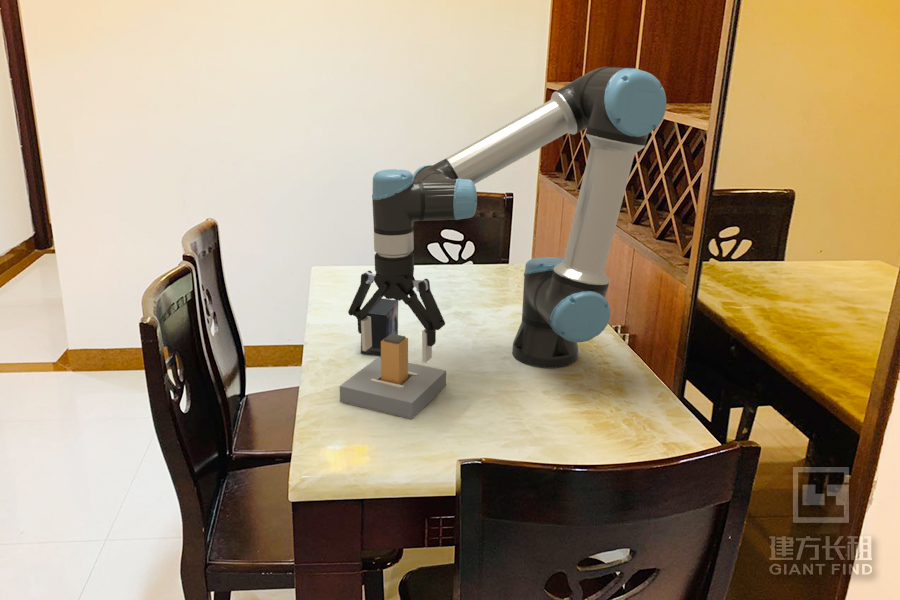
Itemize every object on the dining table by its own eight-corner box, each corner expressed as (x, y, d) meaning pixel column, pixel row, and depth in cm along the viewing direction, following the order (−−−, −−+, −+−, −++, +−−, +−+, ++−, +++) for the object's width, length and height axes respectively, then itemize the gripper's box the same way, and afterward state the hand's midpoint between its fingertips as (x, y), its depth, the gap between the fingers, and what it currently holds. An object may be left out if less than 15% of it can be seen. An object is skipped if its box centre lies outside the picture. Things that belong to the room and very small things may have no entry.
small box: (387, 357, 165) (387, 314, 162) (360, 354, 167) (359, 311, 163) (399, 340, 175) (399, 299, 172) (373, 337, 176) (373, 296, 173)
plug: (407, 391, 150) (408, 336, 145) (398, 399, 146) (398, 343, 142) (390, 387, 151) (390, 332, 147) (381, 395, 148) (380, 339, 143)
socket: (446, 385, 153) (446, 369, 151) (411, 419, 139) (411, 401, 137) (379, 371, 158) (379, 355, 157) (340, 401, 145) (339, 384, 143)
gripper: (461, 254, 137) (461, 357, 144) (348, 240, 146) (352, 337, 154) (445, 265, 131) (445, 372, 138) (327, 249, 140) (333, 350, 147)
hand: (396, 354), depth 146 cm, fingers open, 13 cm apart
